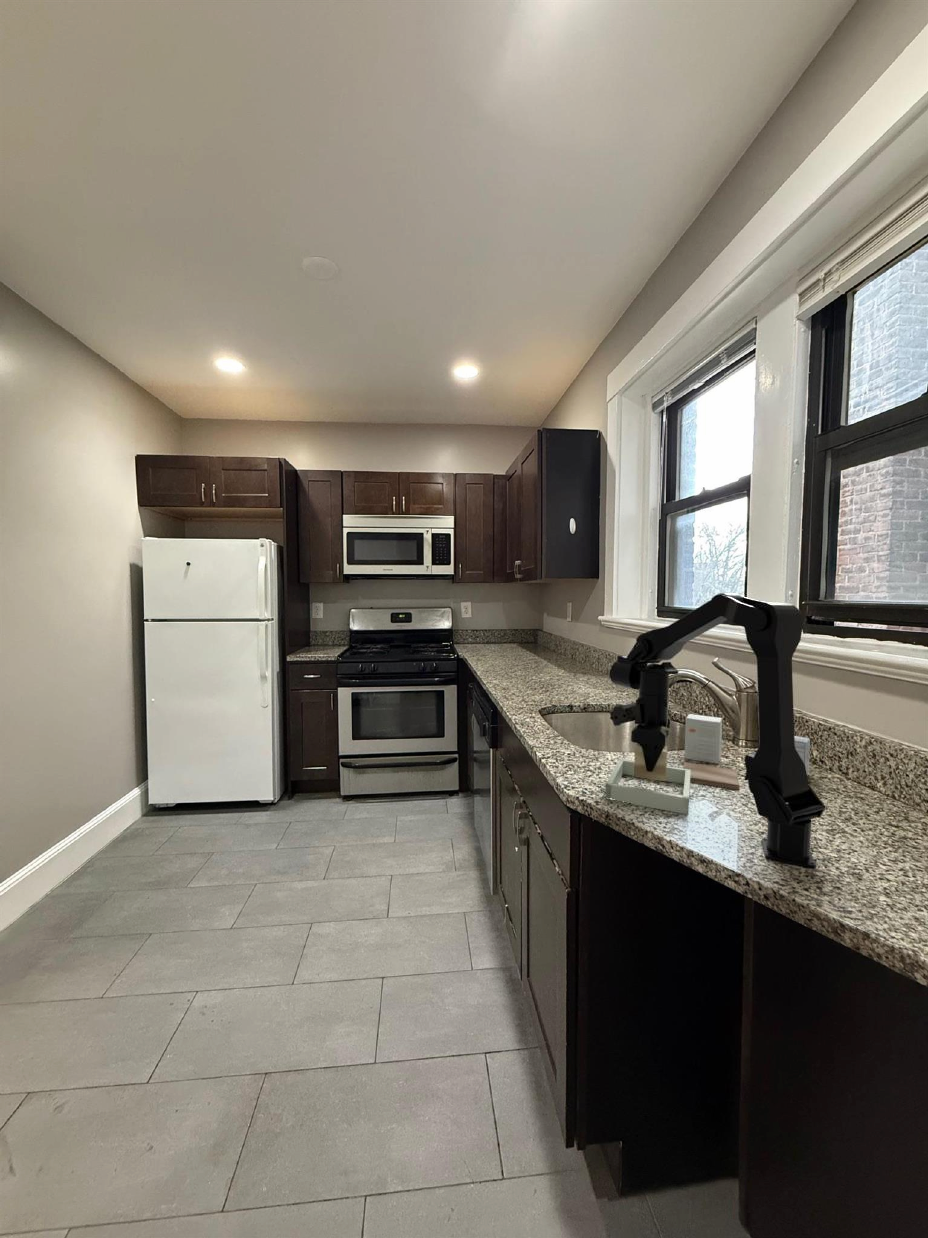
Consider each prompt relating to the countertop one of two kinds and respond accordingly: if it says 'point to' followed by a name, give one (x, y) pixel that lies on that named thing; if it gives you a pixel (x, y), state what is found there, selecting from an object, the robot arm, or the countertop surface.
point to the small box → (703, 738)
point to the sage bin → (649, 796)
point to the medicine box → (803, 750)
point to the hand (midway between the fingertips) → (650, 768)
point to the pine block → (659, 769)
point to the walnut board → (713, 775)
